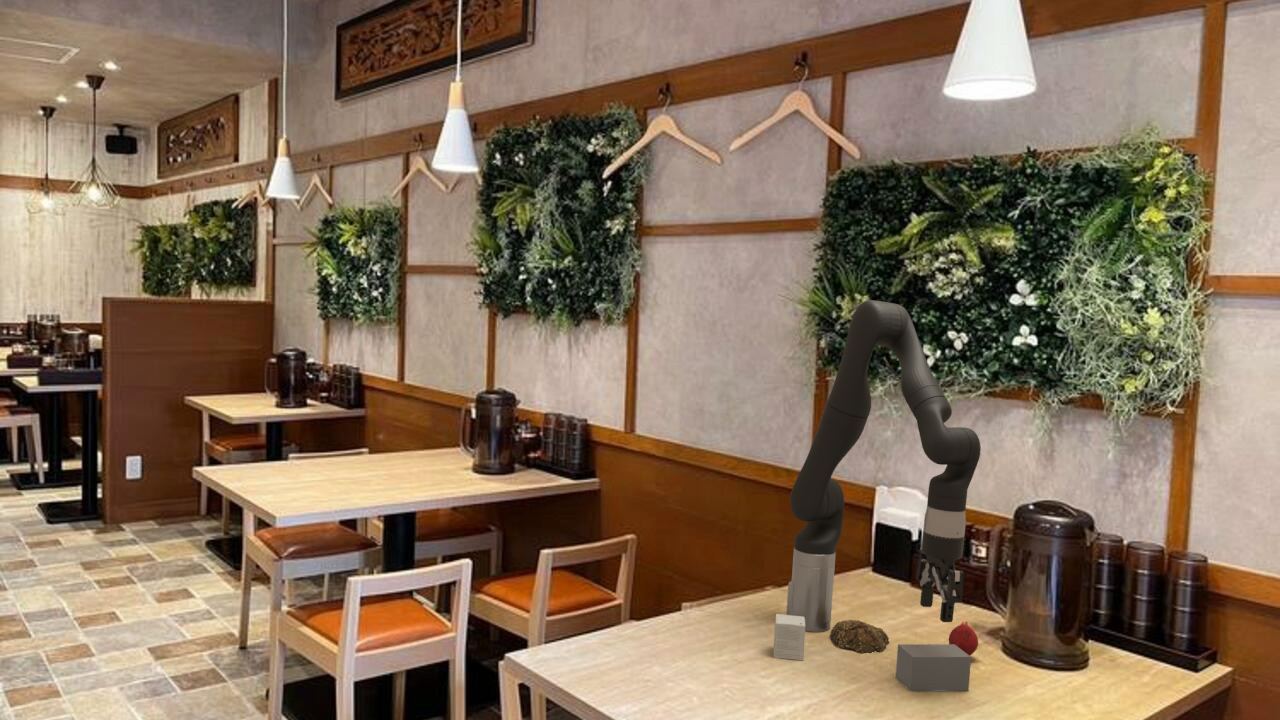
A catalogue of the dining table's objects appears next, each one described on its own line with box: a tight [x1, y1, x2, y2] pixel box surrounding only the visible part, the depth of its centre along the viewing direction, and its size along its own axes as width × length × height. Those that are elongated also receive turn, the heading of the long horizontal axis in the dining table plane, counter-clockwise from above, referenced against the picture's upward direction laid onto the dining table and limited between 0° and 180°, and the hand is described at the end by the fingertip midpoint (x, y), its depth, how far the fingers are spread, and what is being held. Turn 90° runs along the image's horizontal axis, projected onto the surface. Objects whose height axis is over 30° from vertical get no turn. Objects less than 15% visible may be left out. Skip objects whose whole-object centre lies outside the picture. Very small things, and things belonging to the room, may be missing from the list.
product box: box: [773, 613, 806, 661], centre depth 196 cm, size 6×6×7 cm
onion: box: [948, 619, 979, 657], centre depth 199 cm, size 6×6×8 cm
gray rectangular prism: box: [895, 643, 972, 692], centre depth 185 cm, size 12×7×7 cm, turn 99°
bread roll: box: [829, 619, 890, 654], centre depth 206 cm, size 13×12×5 cm
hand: (935, 613), depth 184 cm, fingers open, 8 cm apart
